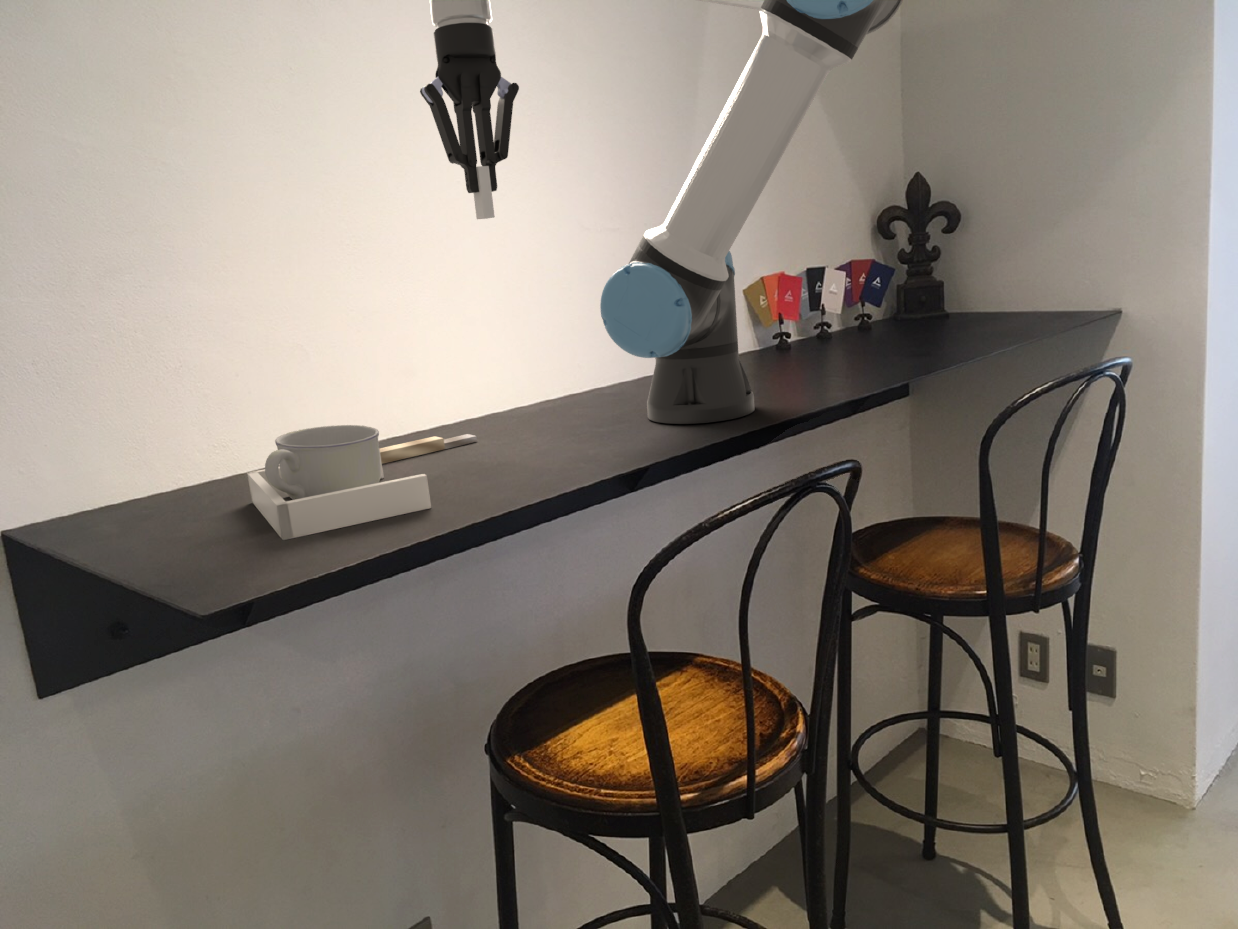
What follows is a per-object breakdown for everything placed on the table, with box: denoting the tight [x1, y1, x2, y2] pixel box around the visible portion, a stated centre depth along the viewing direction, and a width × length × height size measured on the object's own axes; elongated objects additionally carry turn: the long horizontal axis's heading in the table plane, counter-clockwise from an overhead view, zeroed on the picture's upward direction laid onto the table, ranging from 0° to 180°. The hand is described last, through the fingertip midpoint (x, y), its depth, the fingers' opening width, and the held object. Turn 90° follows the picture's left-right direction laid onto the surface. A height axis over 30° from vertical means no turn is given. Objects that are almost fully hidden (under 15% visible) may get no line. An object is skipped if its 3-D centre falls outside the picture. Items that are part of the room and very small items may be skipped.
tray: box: [246, 450, 432, 541], centre depth 105 cm, size 15×19×4 cm
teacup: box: [264, 424, 381, 500], centre depth 104 cm, size 14×11×8 cm
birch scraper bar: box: [379, 433, 478, 465], centre depth 127 cm, size 23×2×2 cm, turn 129°
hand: (485, 218), depth 128 cm, fingers closed
